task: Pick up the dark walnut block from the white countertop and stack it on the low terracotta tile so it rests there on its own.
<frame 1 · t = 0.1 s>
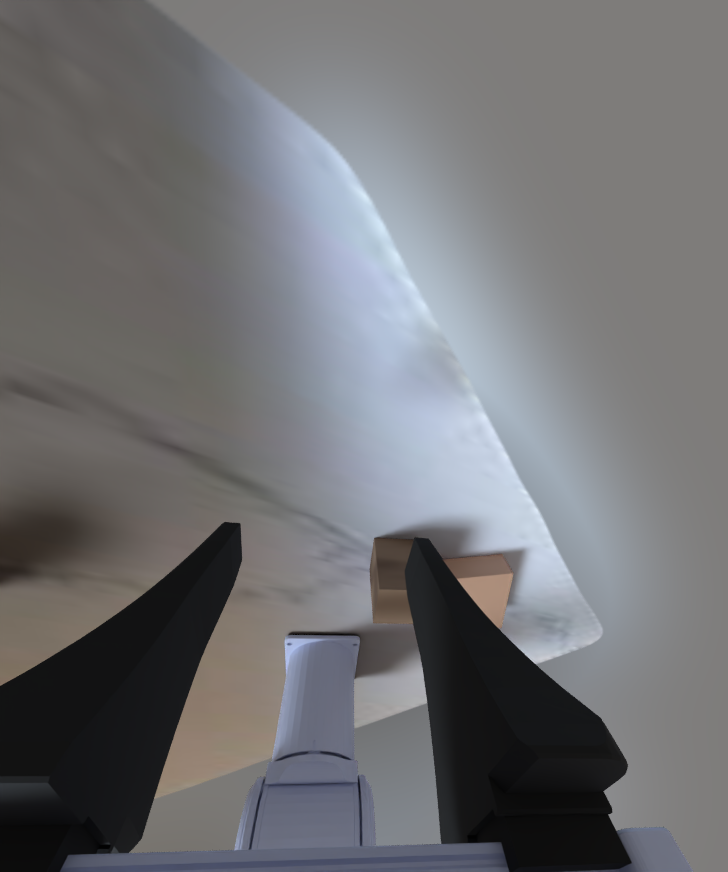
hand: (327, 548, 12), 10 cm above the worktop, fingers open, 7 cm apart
walnut block: (393, 554, 26), on the worktop
terracotta tile: (455, 582, 29), on the worktop
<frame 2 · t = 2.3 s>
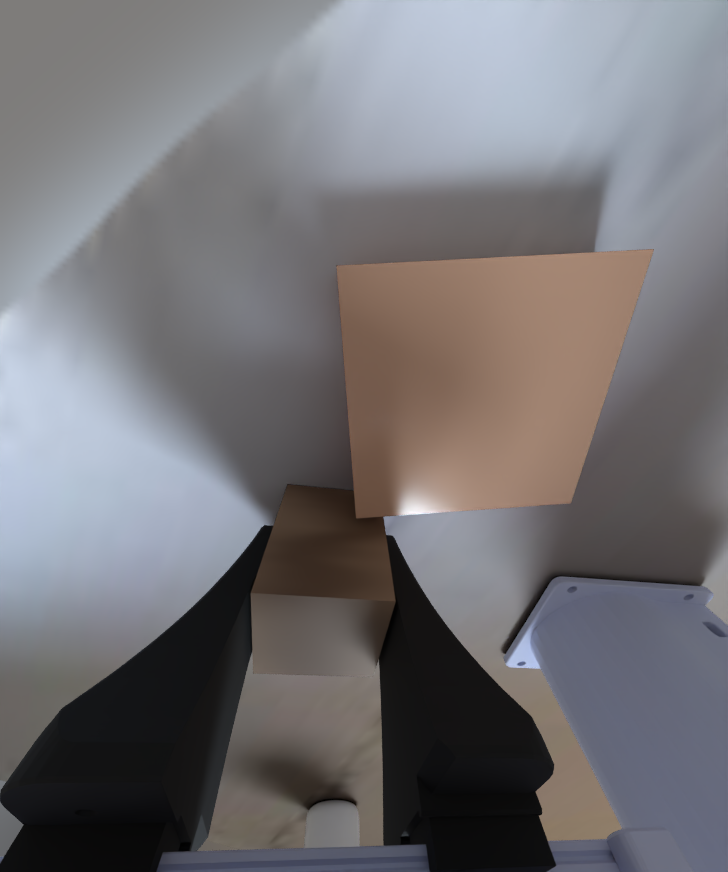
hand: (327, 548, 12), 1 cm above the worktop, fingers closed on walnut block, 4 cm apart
drinking glass: (333, 803, 30), on the worktop
walnut block: (329, 524, 13), on the worktop, touching gripper
terracotta tile: (451, 386, 11), on the worktop
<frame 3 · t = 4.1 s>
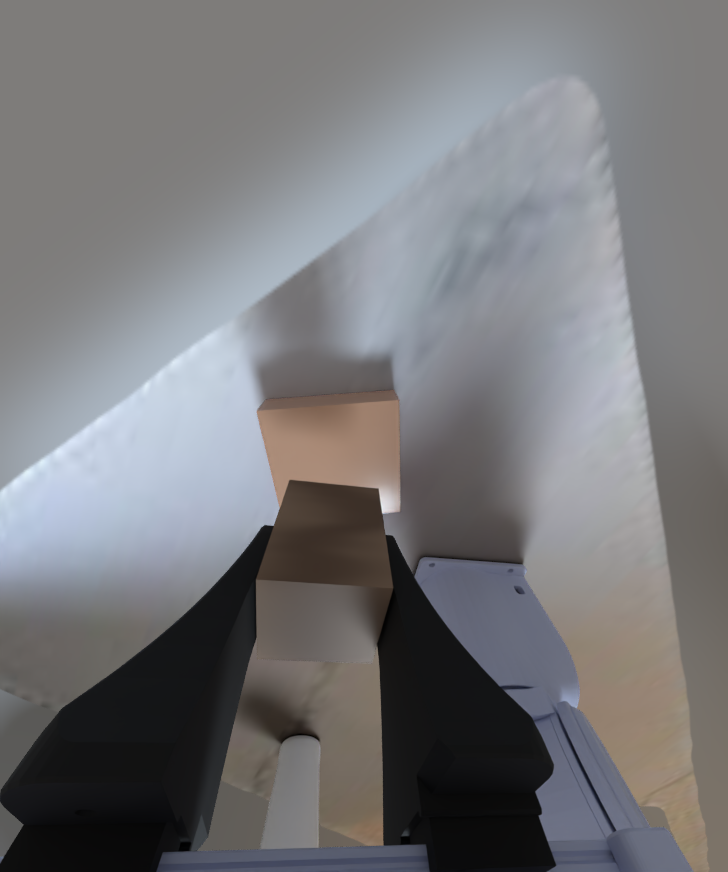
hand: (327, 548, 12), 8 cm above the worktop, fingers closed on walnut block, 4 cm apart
drinking glass: (301, 739, 39), on the worktop
walnut block: (330, 518, 14), point 7 cm above the worktop, touching gripper
terracotta tile: (337, 447, 20), on the worktop
when the fingers open (5 cm above the worktop, at t = 5.5 s): walnut block stays where it is, point 2 cm above the worktop.
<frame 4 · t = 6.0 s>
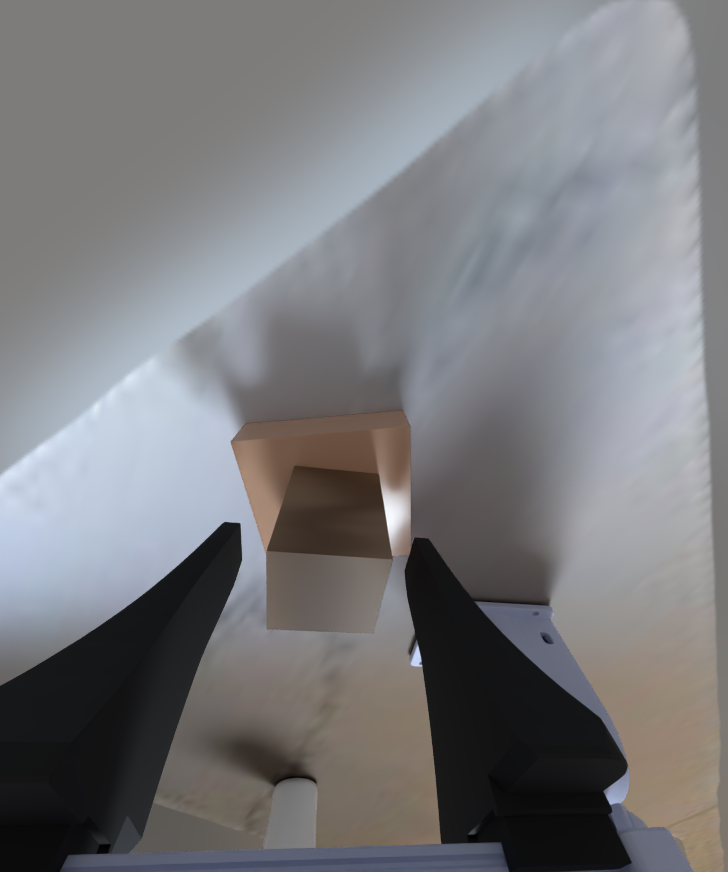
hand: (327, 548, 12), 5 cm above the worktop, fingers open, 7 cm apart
drinking glass: (296, 781, 36), on the worktop
walnut block: (333, 503, 14), point 2 cm above the worktop
terracotta tile: (334, 477, 17), on the worktop
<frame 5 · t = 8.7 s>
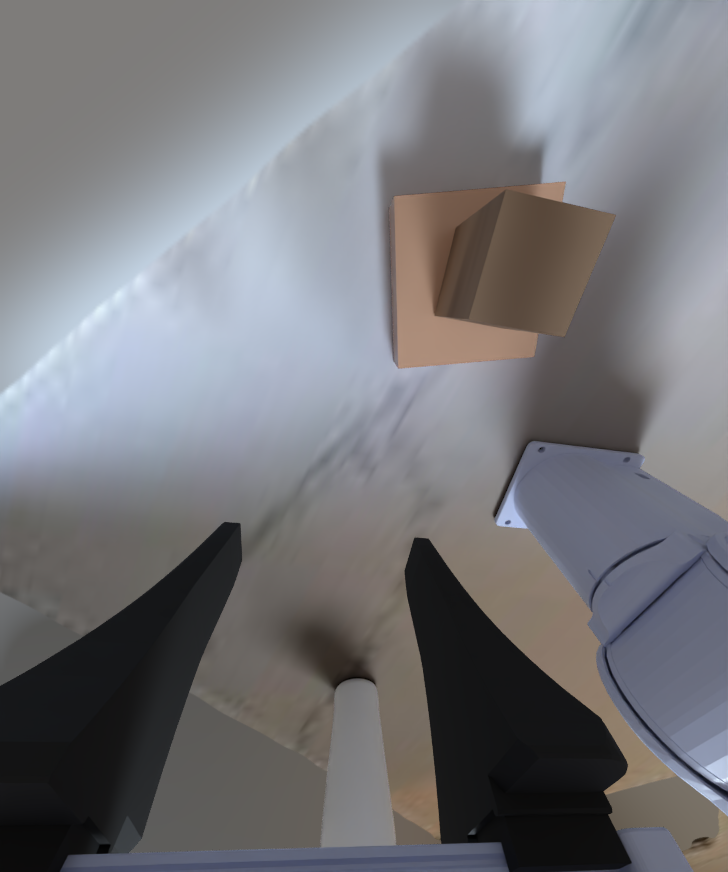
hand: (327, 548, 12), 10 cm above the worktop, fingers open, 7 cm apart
drinking glass: (356, 685, 36), on the worktop
walnut block: (481, 281, 15), point 2 cm above the worktop, touching terracotta tile
terracotta tile: (456, 287, 17), on the worktop, touching walnut block
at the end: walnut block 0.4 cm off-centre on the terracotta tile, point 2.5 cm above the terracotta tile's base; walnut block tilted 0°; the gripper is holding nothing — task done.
